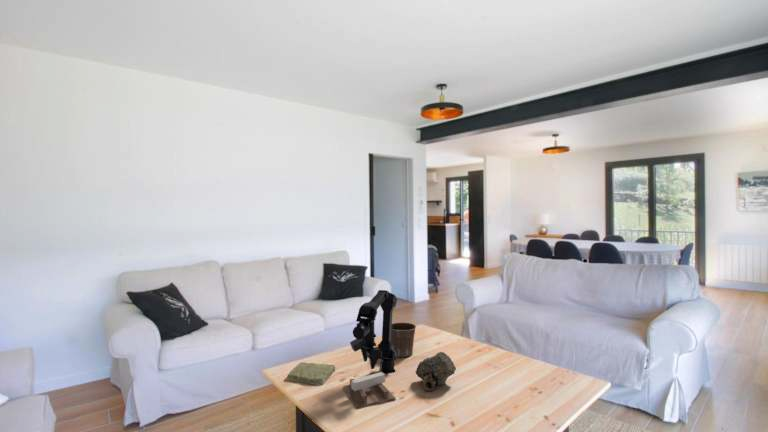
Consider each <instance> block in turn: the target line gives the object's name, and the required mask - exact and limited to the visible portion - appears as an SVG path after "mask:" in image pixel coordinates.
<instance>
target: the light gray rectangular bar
mask: <svg viewBox="0 0 768 432" xmlns="http://www.w3.org/2000/svg"><path fill="white" fill-rule="evenodd" d="M354 379H355V378H354ZM385 382H386V373H383V372H382V371H380V372H376V373H374V374H369V375H366V376H364V377H363V376H362V377H357V378H356V379H355V380H351V389H353V390H354V391H357V390H361V389H364V388H367V387H371V386H374V385H377V384H381V383H382V384H384V383H385Z"/></svg>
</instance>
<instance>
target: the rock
mask: <svg viewBox="0 0 768 432" xmlns="http://www.w3.org/2000/svg"><path fill="white" fill-rule="evenodd" d="M456 370H457V368H456V366H455V363H454V361H452V358H451V357H450V356H449V355H448V354H446V353H445V352H442V351H439V352H437V353H436V354H435V355H433V356H430V357H426V358H424V359H423V360H422V361H420V362H419V364H418V365H417V367H416V370H415V374H416V376H417V377H418V378H419V379H421V381H422V386H423V388H424V389H425V391H428V392H431V391H433V390H434V389H435V385H438V386H439V385H440V386H441V385H445V383H446V382H447V380H448V378H450V376H452V375H454V374H455V372H456Z"/></svg>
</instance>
